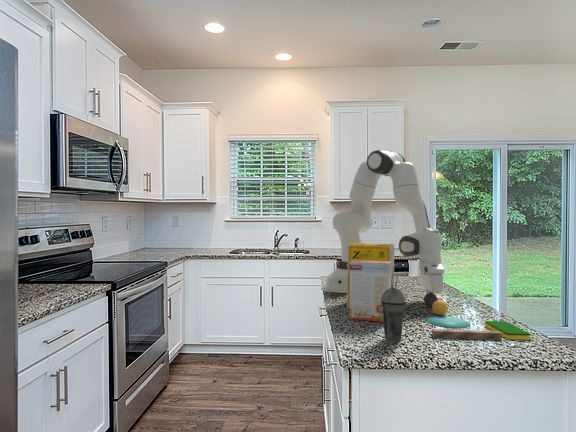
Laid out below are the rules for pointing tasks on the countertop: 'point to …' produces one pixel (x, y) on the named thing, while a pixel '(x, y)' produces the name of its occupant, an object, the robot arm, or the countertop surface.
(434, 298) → the dark gray ball
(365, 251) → the packaging box
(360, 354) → the countertop surface
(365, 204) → the robot arm
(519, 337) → the dish sponge
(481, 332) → the brown wooden bar
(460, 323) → the teal mark
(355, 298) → the cracker box
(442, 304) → the orange ball
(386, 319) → the beverage cup
